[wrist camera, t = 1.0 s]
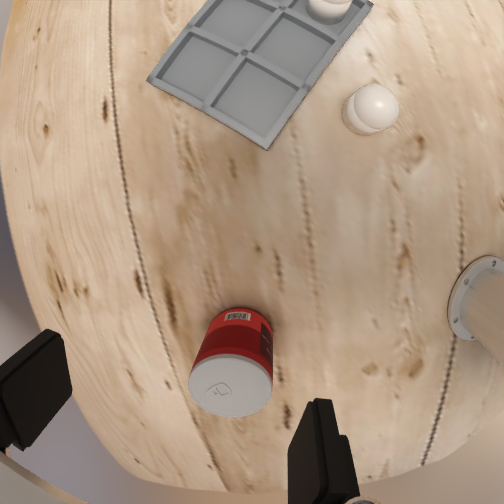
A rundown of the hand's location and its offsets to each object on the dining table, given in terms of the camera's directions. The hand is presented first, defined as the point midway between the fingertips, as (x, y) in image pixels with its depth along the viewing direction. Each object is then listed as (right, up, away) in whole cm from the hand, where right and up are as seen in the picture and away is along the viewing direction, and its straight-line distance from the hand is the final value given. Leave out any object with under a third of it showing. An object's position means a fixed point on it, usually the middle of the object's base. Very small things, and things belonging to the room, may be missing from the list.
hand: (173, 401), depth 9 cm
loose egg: (+15, +20, +20) cm, 32 cm away
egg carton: (+4, +29, +18) cm, 35 cm away
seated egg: (+11, +33, +16) cm, 38 cm away
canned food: (+1, -5, +27) cm, 27 cm away
